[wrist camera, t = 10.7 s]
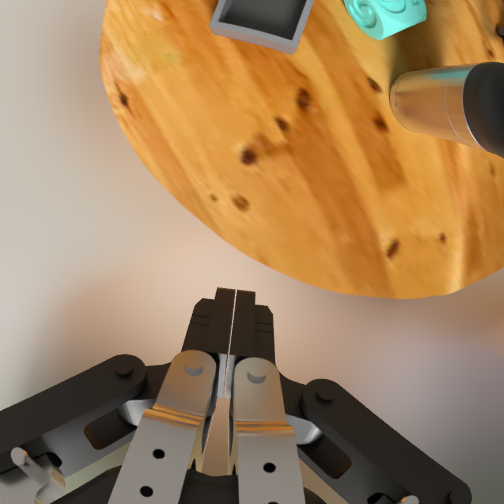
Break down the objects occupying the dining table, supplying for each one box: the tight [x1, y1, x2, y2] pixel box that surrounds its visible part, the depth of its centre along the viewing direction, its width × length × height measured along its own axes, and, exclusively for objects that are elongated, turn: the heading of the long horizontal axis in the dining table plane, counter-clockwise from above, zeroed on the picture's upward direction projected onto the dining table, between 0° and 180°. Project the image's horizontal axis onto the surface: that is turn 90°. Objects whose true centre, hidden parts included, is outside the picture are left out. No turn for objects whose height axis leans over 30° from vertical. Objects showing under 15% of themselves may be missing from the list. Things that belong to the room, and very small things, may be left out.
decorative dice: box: [344, 0, 427, 40], centre depth 25 cm, size 8×8×8 cm
